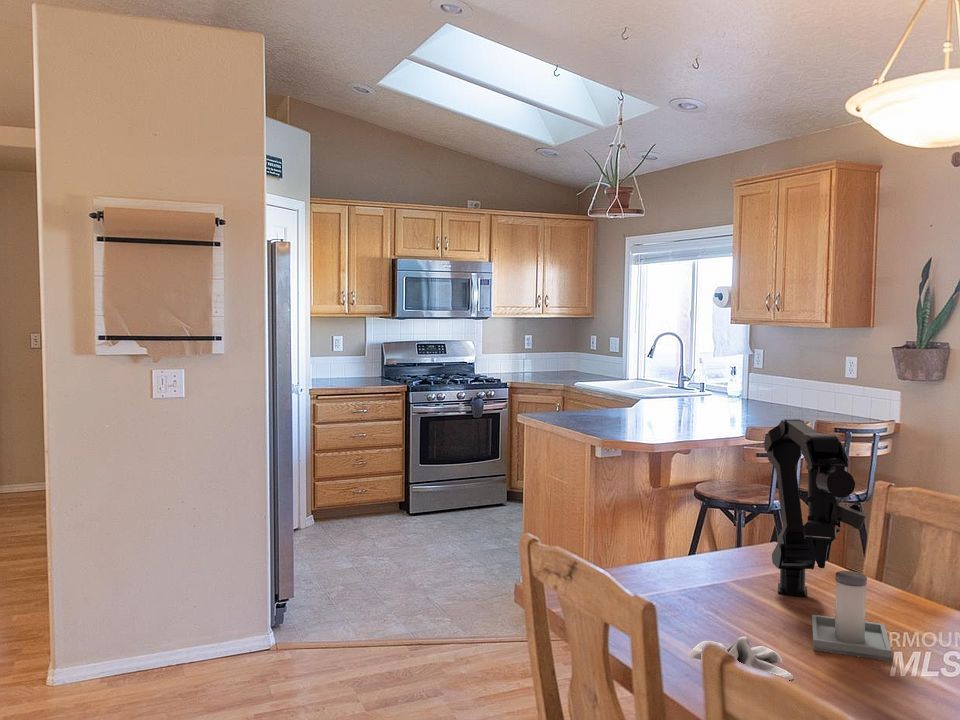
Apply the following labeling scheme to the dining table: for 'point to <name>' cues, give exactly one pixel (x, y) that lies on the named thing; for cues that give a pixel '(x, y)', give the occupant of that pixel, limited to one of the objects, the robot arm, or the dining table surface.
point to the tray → (871, 648)
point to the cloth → (749, 656)
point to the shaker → (850, 607)
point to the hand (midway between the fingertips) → (823, 564)
